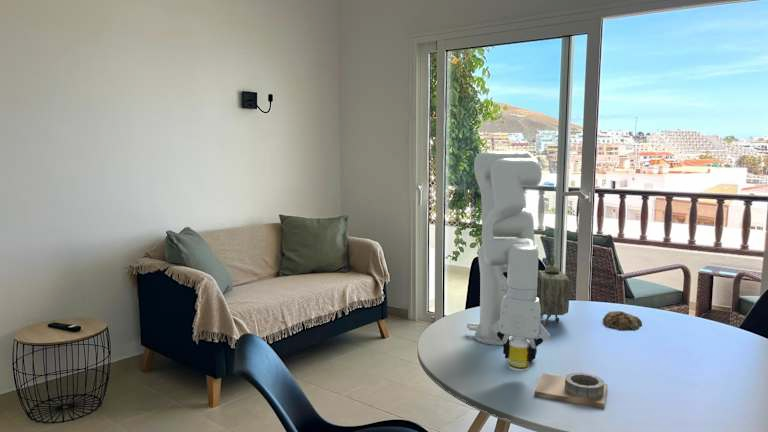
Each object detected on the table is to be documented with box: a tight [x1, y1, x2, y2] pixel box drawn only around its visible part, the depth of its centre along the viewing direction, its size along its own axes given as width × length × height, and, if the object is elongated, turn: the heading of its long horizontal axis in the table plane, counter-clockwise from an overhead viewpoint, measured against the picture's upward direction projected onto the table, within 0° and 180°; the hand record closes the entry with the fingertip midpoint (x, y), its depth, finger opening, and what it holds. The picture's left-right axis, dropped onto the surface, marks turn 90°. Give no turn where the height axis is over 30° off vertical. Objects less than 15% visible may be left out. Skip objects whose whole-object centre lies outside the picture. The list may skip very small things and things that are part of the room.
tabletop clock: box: [537, 251, 570, 327], centre depth 193 cm, size 14×9×25 cm, turn 172°
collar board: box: [534, 372, 608, 409], centre depth 137 cm, size 16×12×4 cm
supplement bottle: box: [507, 336, 530, 372], centre depth 144 cm, size 5×5×10 cm
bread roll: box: [602, 310, 643, 331], centre depth 190 cm, size 13×12×5 cm
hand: (519, 358), depth 144 cm, fingers closed on supplement bottle, 5 cm apart
